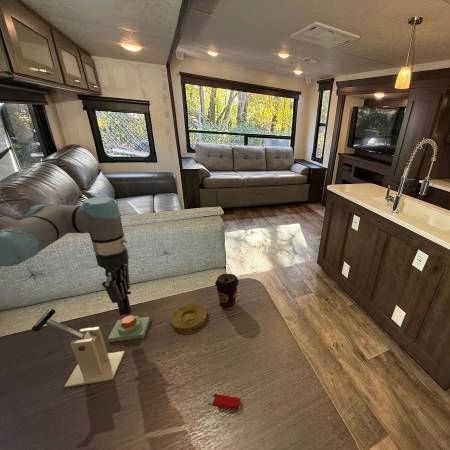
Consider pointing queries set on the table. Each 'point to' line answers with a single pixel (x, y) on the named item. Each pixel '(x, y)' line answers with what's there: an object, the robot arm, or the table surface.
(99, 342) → the bracket
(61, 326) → the lever
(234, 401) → the lighter
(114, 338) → the button box
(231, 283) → the coffee cup
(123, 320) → the button
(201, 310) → the olive yellow disc
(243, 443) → the table surface
